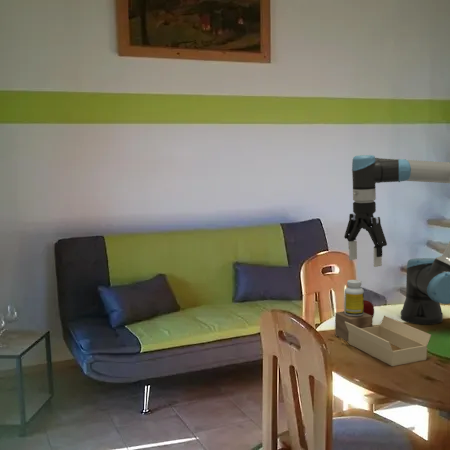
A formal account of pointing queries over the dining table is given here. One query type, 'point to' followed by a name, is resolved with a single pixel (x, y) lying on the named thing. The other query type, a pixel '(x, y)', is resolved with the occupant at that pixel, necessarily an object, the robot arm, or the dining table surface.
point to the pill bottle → (354, 298)
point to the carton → (390, 341)
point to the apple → (368, 308)
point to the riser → (357, 321)
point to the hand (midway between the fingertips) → (365, 262)
